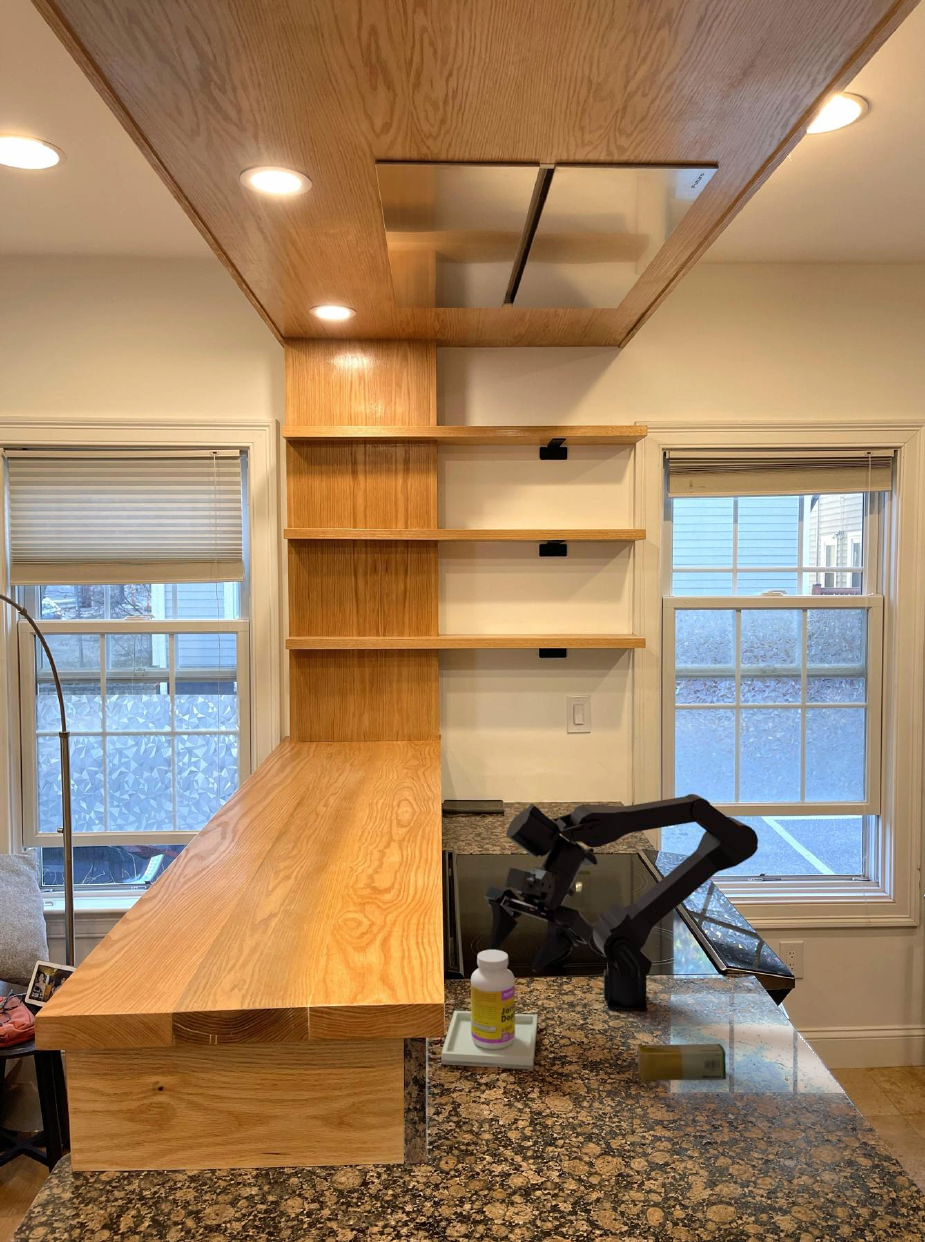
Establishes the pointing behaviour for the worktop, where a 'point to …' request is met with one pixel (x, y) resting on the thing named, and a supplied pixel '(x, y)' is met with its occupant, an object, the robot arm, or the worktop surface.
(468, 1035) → the tray
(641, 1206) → the worktop surface
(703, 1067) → the medication box
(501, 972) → the supplement bottle
